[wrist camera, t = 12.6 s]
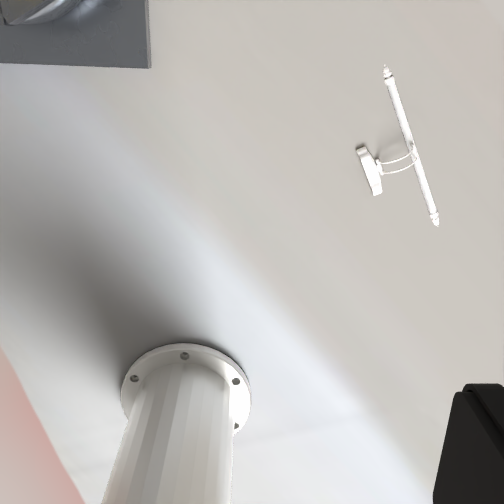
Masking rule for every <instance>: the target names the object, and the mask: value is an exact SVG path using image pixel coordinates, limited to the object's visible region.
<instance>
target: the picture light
mask: <svg viewBox="0 0 504 504" xmlns="http://www.w3.org/2000/svg"><path fill="white" fill-rule="evenodd" d="M384 66H385V64H384ZM383 72H384V77H387V79H385V80H384V81H385V84H386V85H387V88H388V91H389V94H390V97H391V100H392V103H393V106H394V109H395V112H396V115H397V118H398V121H399V124H400V127H401V130H402V133H403V136H404V139H405V142H406V145H407V147H408V150H409V153H408V154H407V155H405V156H403V157H401V158H399V159H396V160H393V161H390V162H380V160H379V159H376V160H375V161H376V164H375V161H374V159H373V158H372V156H371V155H370V153H369V152H368V151H367V149H366V147H362V148H360V149H358V150H356V151H357V153H358V155H359V157H360V159H361V162H362V165H363V168H364V170H365V173H366V175H367V178H368V181H369V183H370V186H371V188H372V191H373V196H375V195H377V194H380V193H382V189H381V179H380V175H379V172H380V174H381V175H384V173H394V172H398V171H401V170H404V169H406V168H408V167H410V166H411V165H414V168H415V171H416V174H417V177H418V180H419V183H420V186H421V189H422V192H423V195H424V198H425V201H426V204H427V207H428V210H429V213H430V214H429V215H430V218H433V219H432V222H434V224H435V225H438V224H439V217H438V216H439V214H438V211H437V210H436V207H435V204H434V201H433V198H432V195H431V191H430V188H429V185H428V182H427V179H426V176H425V173H424V170H423V167H422V164H421V161H420V158H419V155H418V152H417V149H416V146H415V143H414V139H413V136H412V133H411V130H410V127H409V124H408V121H407V118H406V115H405V112H404V109H403V106H402V103H401V100H400V97H399V93H398V90H397V87H396V84H395V79H394V76H391V77H390V75H391V74H392V73H391V71H390V70H389V68H388V67H386V66H385V67H384V69H383ZM409 154H410V156H411V159H412V162H413V163H411V164H410V165H408V166H407V167H404V168H402V169H399V170H396V171H392V172H384V171H383V168H382V166H381V164H387V163H392V162H395V161H398V160H401V159H403V158H405V157H406V156H408V155H409ZM437 227H438V226H437Z"/></svg>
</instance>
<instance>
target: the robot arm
mask: <svg viewBox="0 0 504 504" xmlns="http://www.w3.org/2000/svg"><path fill="white" fill-rule="evenodd" d="M120 396H121V405H122V408H123V411H124V414H125V416H126V418H127V419H128V423H127V426H126V429H125V432H124V435H123V438H122V441H121V444H120V447H119V450H118V454H117V457H116V460H115V463H114V466H113V469H112V472H111V475H110V478H109V481H108V484H107V488H106V491H105V494H104V497H103V500H102V503H101V504H231V491H232V468H233V444H234V435H235V434H236V433H237V432H239V431H240V429H241V428H242V427H243V425H244V424H245V423H246V421H247V418H248V416H249V414H250V408H251V390H250V385H249V382H248V380H247V378H246V376H245V374H244V372H243V371H242V370H241V368H240V367H239V366H238V365H237V364H236V363H235V362H234V361H233V360H232V359H231V358H229V357H228V356H226V355H224V354H223V353H221V352H219V351H217V350H214V349H212V348H210V347H206V346H202V345H198V344H188V343H178V344H169V345H165V346H161V347H158V348H155V349H153V350H151V351H149V352H147V353H145V354H144V355H143V356H141V357H140V358H138V359H137V360H136V361H135V363H134V364H133V365H132V366H131V367H130V369H129V370H128V372H127V374H126V376H125V379H124V382H123V384H122V389H121V395H120ZM433 504H504V387H503V386H502V385H500V384H466V385H465V386H464V388H463V390H462V392H456V393H455V395H454V398H453V402H452V407H451V412H450V416H449V421H448V426H447V430H446V435H445V440H444V444H443V449H442V454H441V458H440V463H439V468H438V472H437V477H436V482H435V486H434V491H433Z"/></svg>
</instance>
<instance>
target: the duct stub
mask: <svg viewBox="0 0 504 504" xmlns="http://www.w3.org/2000/svg"><path fill="white" fill-rule="evenodd" d="M0 63H17V64H43V65H69V66H95V67H120V68H146V69H148V68H151V50H150V29H149V9H148V0H0Z"/></svg>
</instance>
